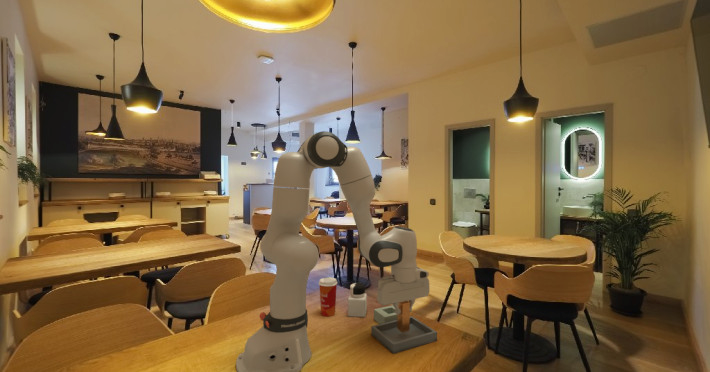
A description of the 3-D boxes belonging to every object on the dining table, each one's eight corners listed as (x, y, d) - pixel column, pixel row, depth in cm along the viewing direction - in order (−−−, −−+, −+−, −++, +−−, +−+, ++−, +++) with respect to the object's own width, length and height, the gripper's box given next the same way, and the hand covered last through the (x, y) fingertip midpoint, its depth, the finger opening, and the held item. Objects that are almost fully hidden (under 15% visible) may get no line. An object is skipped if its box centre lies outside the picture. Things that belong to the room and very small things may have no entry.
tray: (393, 353, 102) (393, 344, 102) (371, 334, 115) (371, 326, 115) (437, 340, 110) (437, 332, 110) (411, 323, 123) (412, 316, 123)
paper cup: (316, 311, 134) (316, 278, 133) (333, 308, 137) (333, 275, 137) (322, 319, 127) (322, 284, 126) (340, 315, 130) (340, 281, 129)
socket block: (384, 327, 120) (384, 317, 119) (373, 319, 127) (373, 309, 127) (406, 322, 124) (406, 312, 124) (394, 314, 131) (394, 304, 131)
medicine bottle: (366, 309, 136) (366, 281, 135) (365, 317, 129) (365, 287, 128) (349, 309, 136) (349, 281, 136) (347, 316, 129) (347, 287, 129)
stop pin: (402, 332, 110) (402, 303, 110) (397, 328, 113) (397, 300, 113) (409, 330, 112) (409, 302, 111) (404, 327, 114) (404, 299, 114)
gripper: (383, 280, 104) (383, 322, 105) (432, 271, 114) (432, 310, 114) (373, 274, 110) (373, 314, 110) (421, 267, 119) (420, 304, 120)
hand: (403, 312), depth 112 cm, fingers closed on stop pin, 3 cm apart
